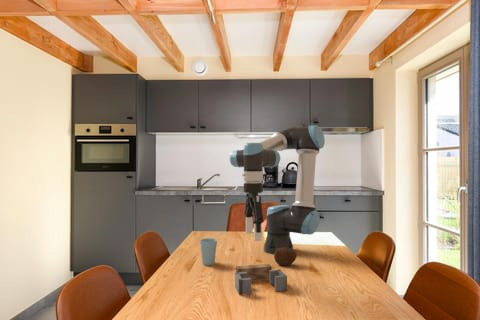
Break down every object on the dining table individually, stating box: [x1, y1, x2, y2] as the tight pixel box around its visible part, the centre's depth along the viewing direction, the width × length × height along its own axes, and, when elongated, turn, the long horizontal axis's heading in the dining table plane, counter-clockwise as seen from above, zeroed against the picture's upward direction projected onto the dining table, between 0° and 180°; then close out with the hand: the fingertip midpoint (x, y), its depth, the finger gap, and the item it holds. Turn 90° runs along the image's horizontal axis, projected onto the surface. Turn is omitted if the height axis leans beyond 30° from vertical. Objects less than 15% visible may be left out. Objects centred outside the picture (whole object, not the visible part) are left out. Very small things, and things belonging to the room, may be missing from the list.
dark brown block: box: [235, 263, 273, 282], centre depth 121 cm, size 14×4×5 cm, turn 102°
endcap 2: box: [268, 269, 288, 292], centre depth 113 cm, size 4×7×5 cm, turn 12°
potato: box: [273, 247, 298, 266], centre depth 138 cm, size 7×10×8 cm
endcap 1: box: [234, 272, 252, 296], centre depth 110 cm, size 4×7×5 cm, turn 12°
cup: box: [199, 237, 218, 266], centre depth 141 cm, size 8×8×10 cm
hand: (253, 237), depth 122 cm, fingers open, 13 cm apart
